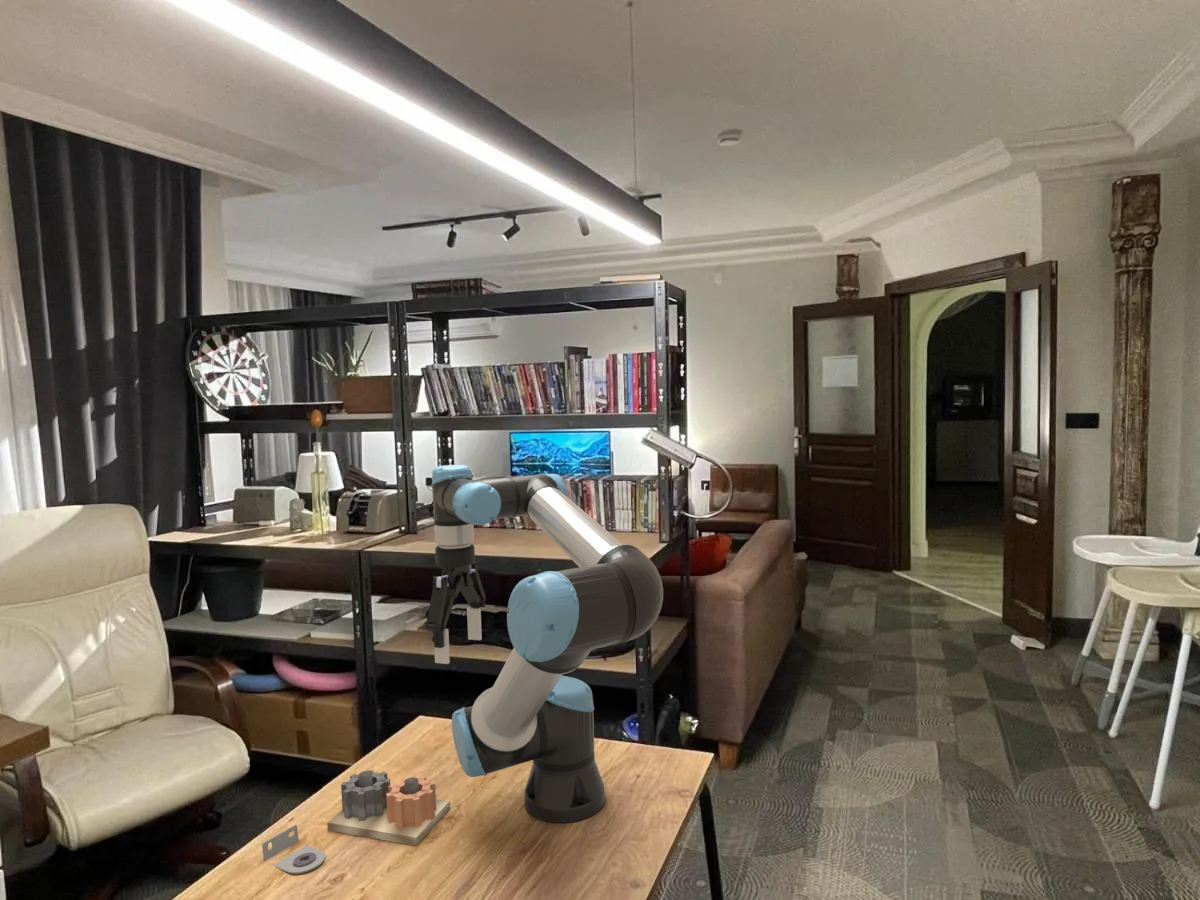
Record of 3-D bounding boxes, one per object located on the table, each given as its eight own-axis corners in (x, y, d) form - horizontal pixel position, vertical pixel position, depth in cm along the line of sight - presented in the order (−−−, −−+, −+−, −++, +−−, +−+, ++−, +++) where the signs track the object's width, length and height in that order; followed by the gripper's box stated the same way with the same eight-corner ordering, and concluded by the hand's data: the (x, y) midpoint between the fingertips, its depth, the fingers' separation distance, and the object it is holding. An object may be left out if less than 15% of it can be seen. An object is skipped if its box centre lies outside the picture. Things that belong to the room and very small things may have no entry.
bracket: (300, 882, 124) (298, 861, 124) (263, 862, 129) (261, 843, 129) (334, 860, 129) (332, 840, 129) (297, 842, 135) (295, 824, 135)
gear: (438, 800, 144) (437, 775, 143) (432, 826, 135) (431, 799, 135) (392, 804, 143) (391, 778, 142) (384, 830, 135) (382, 802, 134)
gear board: (450, 808, 144) (448, 767, 143) (416, 845, 132) (414, 801, 132) (367, 795, 149) (364, 756, 148) (327, 830, 138) (325, 787, 137)
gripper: (466, 531, 163) (471, 629, 164) (403, 558, 139) (408, 672, 141) (499, 532, 160) (503, 631, 162) (440, 559, 137) (445, 675, 138)
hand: (459, 650), depth 151 cm, fingers open, 13 cm apart
